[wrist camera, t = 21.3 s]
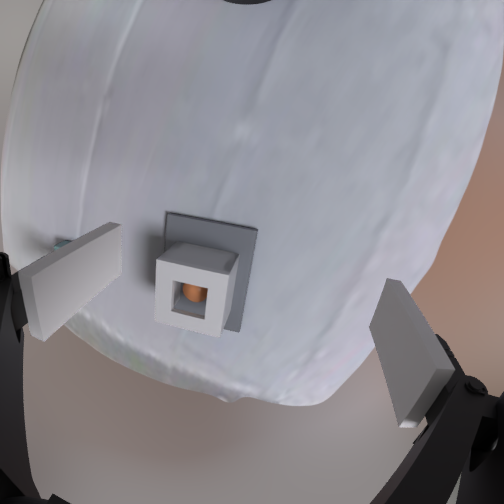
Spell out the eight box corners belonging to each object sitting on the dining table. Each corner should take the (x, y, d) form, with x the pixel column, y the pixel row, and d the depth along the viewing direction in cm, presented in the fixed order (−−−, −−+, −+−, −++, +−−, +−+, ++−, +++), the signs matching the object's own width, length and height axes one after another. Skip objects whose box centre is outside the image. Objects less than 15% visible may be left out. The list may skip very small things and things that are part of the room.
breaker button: (193, 264, 48) (183, 276, 44) (216, 269, 48) (208, 281, 44) (191, 286, 50) (181, 298, 46) (213, 291, 49) (206, 304, 45)
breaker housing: (169, 212, 48) (144, 228, 39) (258, 229, 47) (249, 249, 38) (163, 310, 54) (143, 338, 46) (240, 329, 53) (230, 361, 45)
